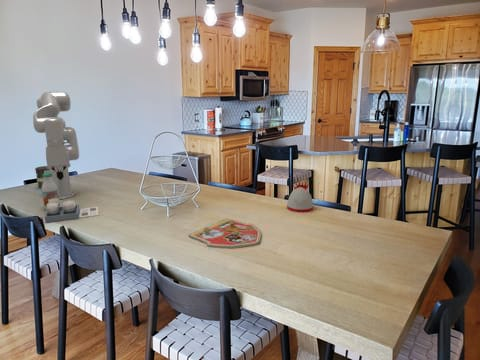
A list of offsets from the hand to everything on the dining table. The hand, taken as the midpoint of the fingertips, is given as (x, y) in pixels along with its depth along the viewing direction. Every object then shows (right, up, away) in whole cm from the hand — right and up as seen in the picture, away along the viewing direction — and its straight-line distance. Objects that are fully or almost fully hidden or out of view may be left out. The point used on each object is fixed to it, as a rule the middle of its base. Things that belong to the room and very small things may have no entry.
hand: (60, 179), depth 181 cm
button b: (+1, -17, +8) cm, 19 cm away
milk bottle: (-13, -16, +16) cm, 26 cm away
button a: (-5, -15, +5) cm, 17 cm away
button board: (-1, -19, +4) cm, 20 cm away
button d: (+4, -16, +1) cm, 17 cm away
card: (+11, -18, +8) cm, 23 cm away
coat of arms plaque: (+88, -26, -24) cm, 95 cm away
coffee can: (-39, -6, +59) cm, 71 cm away
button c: (-3, -17, -2) cm, 17 cm away
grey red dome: (+124, -16, +11) cm, 126 cm away
